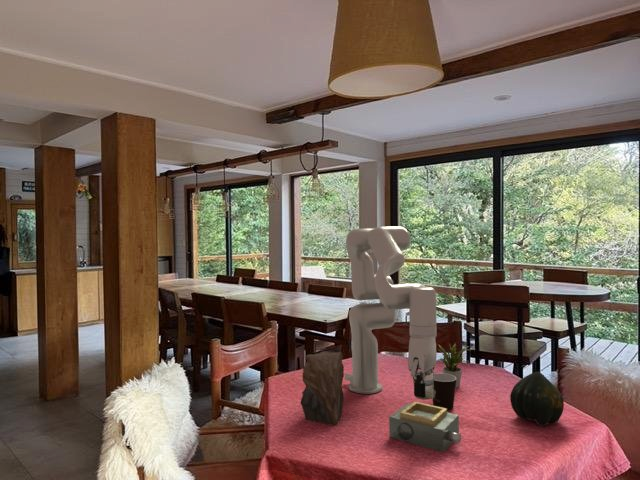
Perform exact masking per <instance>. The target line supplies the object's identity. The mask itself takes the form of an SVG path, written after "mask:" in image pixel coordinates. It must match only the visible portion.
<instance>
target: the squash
mask: <svg viewBox="0 0 640 480" xmlns="http://www.w3.org/2000/svg"><path fill="white" fill-rule="evenodd" d="M509 399H510V401H509V402H510V405H511V408H512V410H513V412H514V413H515V414H516V415H517V416H518V417H519V418H521V419H524V420H530V421H535V422H536V423H537V425H538V426H542V427H543V426H546V425H552V424H555V423H557V422H558V421H559V420H560V418H561V417H562V415H563V413H564V412H563V411H564V405H565V404H564V402H565V401H564V397H563V395H562V393H561V392H560V391H559V389H558V388H557V387H556V386H555V385H554V384H553V383H552V382H551V381H550V380H549V379H548V378H547V377H546V376H545V375H544V374H543V373H542V372H541V371H535V372H534V371H533V372H532V373H530V374H528V375H526V376H524V377H522V378H521V379H519V380H518V381H517V382H516V383H515V384H514V386H513V387H512V389H511V391H510V396H509Z"/></svg>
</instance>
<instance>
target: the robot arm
mask: <svg viewBox="0 0 640 480" xmlns="http://www.w3.org/2000/svg"><path fill="white" fill-rule="evenodd" d="M410 245H411V236H410V232H409V231H408V230H407V229H406V228H405V227H404V226H401V225H400V226H399V225H398V226H396V225H395V226H394V225H393V226H391V225H388V226H377V227H373V228H372V227H363V228H355V229H352V230H350V231H349V232H348V233H347V235H346V239H345V246H346V252H347V256H348V258H349V262H350V272H351V273H350V275H351V293H352V296H353V298H354V299H355V300H357V301H373V300H375V301H376V300H378V301H379V302H373V303H372V302H371V303H370V302H369V303H359V304H356V305H354V306H352V307H351V308H350V310H349V311H348V319H349V320H348V321H349V325H350V331H351V350H352V351H351V353H352V355H351V356H352V357H351V360H352V361H351V362H352V367H351V369H352V373H350V372H349V373H348V372H346V373H344V380H346V381H349V384H348V389H349V391H351V392H353V393H356V394H364V395H365V394H366V395H370V394H377V393H379V392H382V390H383V384H382V383H381V382H379V354H378V353H379V350H378V349H379V348H378V346H379V345H378V339H377V337H376V336H375V335H374V334H373V332H372V330H376V329H377V330H378V329H387V328H391V327H393V326H394V325H395V322H396V317H397V316H396V310H406V309H408V310H409V313H408V314H409V315H408V316H409V318H408V319H409V321H408V322H409V336H410V337H409V341H408V353H407V355H408V356H407V358H408V359H407V361H408V363H407V368H408V369H407V370H408V371H409V372H410V376H411V378H412V379H413V381H412V382H413V395H414V397H415V396H417V397H422V398H425V383H424V377H425V372H427V371H429V370H430V372H431V373H433V383H434V374H435V371H434V370H435V366H437V358H438V357H437V343H436V338H437V331H438V330H437V292H436V290H435V288H434V287H432V286H426V285H424V284H422V283H419V282H417V283H416V282H414V283H396V284H394V280H393V279H392V277H391V276H390V275H393V274H394V273H396V272H398V271H399V270H401V269H402V268H403V266H404V265H405V262H406V257H405V255H404V254H403V252H402V251H406V250H407V249H409V247H410ZM368 252H372V254H373V255H374V257H375V260H376V261H377V264H378V265H379V266H378V268H377V270H376V272H375V269H374V268H375V266H374V265H375V264H374V260H373V259H372V256H370V255H369V253H368ZM420 371H421V372H420ZM417 373H418V374H421V377H420V376H419V375H418V374H417ZM433 387H434V384H433Z"/></svg>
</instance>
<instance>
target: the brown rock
mask: <svg viewBox="0 0 640 480" xmlns="http://www.w3.org/2000/svg"><path fill="white" fill-rule="evenodd" d="M343 358H344V355H343V353H342V351H340V350H339V351H337V352H336V351H329V350H323V351H321V352H318V353H315V354H313V353H312V354H311V353H310V354H306V355H305V360H306V362H305V364H304V366H303V369H302V382H303V383H304V385H305V388H304V389H303V390H302V392H301V393H302V396H301V399H300V405H301V407H302V410H303V414H304V420H305V419H306V420H305V421H307V420H310V421H309V422H314V421H315V423H320V424H324V425H329V426H338V425H339V422H340V418H341V415H342V411H343V407H344V406H343V405H344V397H345V396H344V391H343V381H344V378H345V373H344V371H345V369H344V368H345V367H344V364H343Z"/></svg>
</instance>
